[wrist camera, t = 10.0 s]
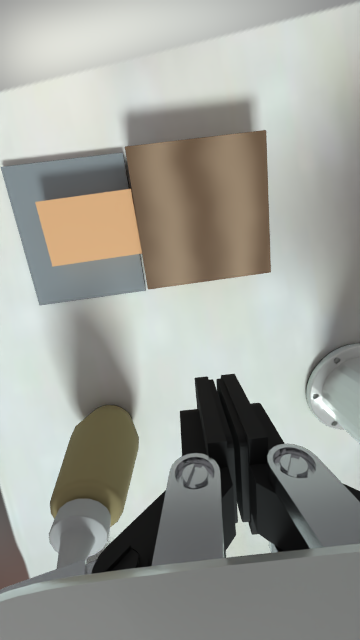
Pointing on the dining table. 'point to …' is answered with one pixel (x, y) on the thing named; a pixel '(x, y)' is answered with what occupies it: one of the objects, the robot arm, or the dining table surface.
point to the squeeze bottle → (92, 483)
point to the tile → (90, 227)
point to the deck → (202, 208)
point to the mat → (23, 192)
